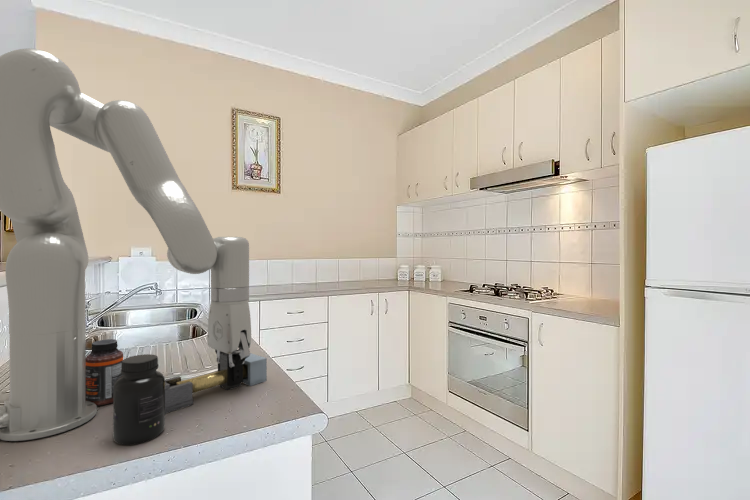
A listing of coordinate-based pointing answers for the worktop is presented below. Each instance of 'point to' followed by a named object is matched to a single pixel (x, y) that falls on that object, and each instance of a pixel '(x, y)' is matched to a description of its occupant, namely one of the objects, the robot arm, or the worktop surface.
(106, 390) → the supplement bottle
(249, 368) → the socket
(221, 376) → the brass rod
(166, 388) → the sleeve
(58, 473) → the worktop surface
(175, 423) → the worktop surface
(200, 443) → the worktop surface
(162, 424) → the supplement bottle
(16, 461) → the worktop surface
